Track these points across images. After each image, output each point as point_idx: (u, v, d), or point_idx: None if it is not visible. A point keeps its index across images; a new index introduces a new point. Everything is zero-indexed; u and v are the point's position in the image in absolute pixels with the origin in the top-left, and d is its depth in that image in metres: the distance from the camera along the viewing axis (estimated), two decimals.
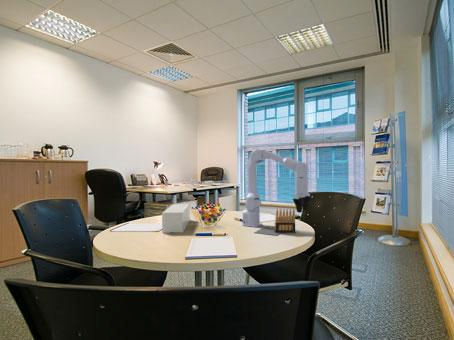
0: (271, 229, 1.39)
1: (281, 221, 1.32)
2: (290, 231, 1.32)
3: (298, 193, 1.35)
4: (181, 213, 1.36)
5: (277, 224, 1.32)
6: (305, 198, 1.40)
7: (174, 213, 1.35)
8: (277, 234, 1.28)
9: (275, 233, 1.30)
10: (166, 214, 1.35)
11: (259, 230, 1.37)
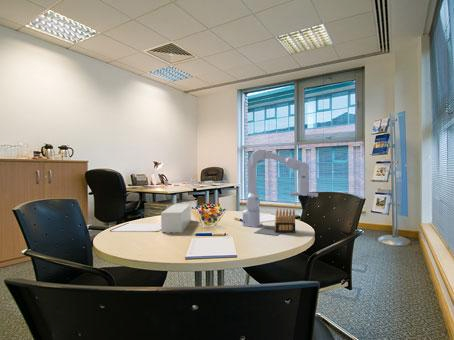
0: (271, 229, 1.39)
1: (281, 221, 1.32)
2: (290, 231, 1.32)
3: None
4: (180, 213, 1.35)
5: (277, 224, 1.32)
6: None
7: (173, 213, 1.35)
8: (277, 234, 1.28)
9: (275, 233, 1.30)
10: (165, 214, 1.35)
11: (259, 230, 1.37)
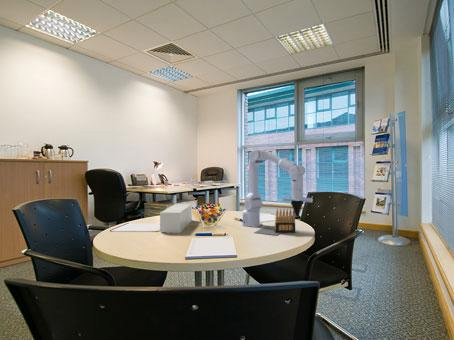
0: (271, 229, 1.39)
1: (281, 221, 1.32)
2: (290, 231, 1.32)
3: None
4: (178, 213, 1.35)
5: (277, 224, 1.32)
6: None
7: (171, 213, 1.35)
8: (277, 234, 1.28)
9: (275, 233, 1.30)
10: (164, 214, 1.36)
11: (259, 230, 1.37)
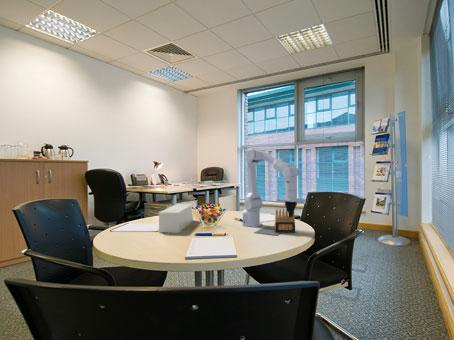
0: (271, 229, 1.39)
1: (281, 221, 1.33)
2: (290, 231, 1.33)
3: None
4: (177, 213, 1.35)
5: (277, 223, 1.32)
6: None
7: (170, 213, 1.35)
8: (277, 234, 1.28)
9: (275, 233, 1.30)
10: (162, 214, 1.36)
11: (259, 230, 1.37)
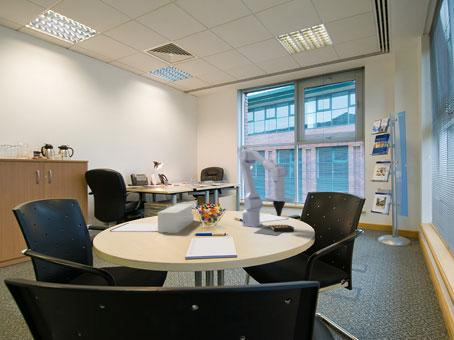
0: (271, 229, 1.39)
1: (276, 226, 1.39)
2: (288, 227, 1.35)
3: None
4: (175, 213, 1.35)
5: (273, 226, 1.38)
6: None
7: (169, 213, 1.35)
8: (277, 234, 1.28)
9: (275, 233, 1.30)
10: (161, 214, 1.36)
11: (259, 230, 1.37)
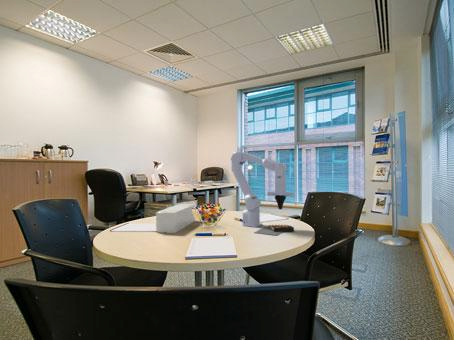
0: (271, 229, 1.39)
1: (276, 226, 1.39)
2: (288, 227, 1.35)
3: None
4: (173, 213, 1.35)
5: (273, 226, 1.38)
6: None
7: (167, 213, 1.36)
8: (277, 234, 1.28)
9: (275, 233, 1.30)
10: (159, 214, 1.36)
11: (259, 230, 1.37)
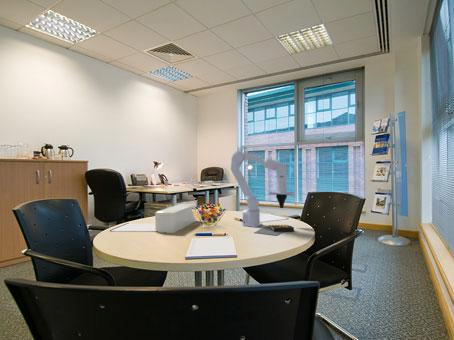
0: (271, 229, 1.39)
1: (276, 226, 1.39)
2: (288, 227, 1.35)
3: None
4: (172, 213, 1.35)
5: (273, 226, 1.38)
6: None
7: (166, 213, 1.36)
8: (277, 234, 1.28)
9: (275, 233, 1.30)
10: (159, 214, 1.37)
11: (259, 230, 1.37)
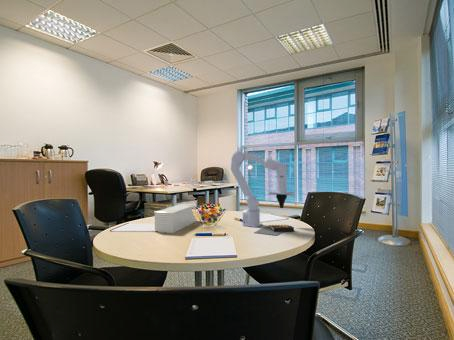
0: (271, 229, 1.39)
1: (276, 226, 1.39)
2: (288, 227, 1.35)
3: None
4: (171, 213, 1.35)
5: (273, 226, 1.38)
6: None
7: (165, 213, 1.36)
8: (277, 234, 1.28)
9: (275, 233, 1.30)
10: (158, 214, 1.37)
11: (259, 230, 1.37)
